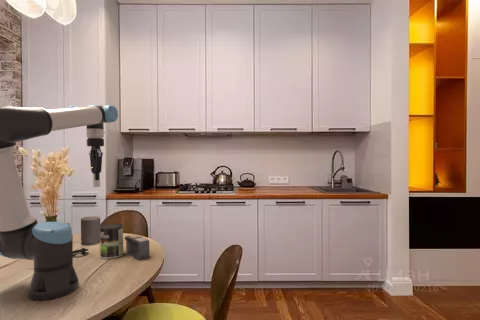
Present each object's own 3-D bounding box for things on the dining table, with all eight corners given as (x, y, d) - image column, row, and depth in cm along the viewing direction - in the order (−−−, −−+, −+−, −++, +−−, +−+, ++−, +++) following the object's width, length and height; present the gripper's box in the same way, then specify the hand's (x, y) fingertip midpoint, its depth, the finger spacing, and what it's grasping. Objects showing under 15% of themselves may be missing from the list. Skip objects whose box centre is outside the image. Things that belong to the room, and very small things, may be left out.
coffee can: (109, 260, 136) (108, 229, 135) (95, 256, 141) (94, 226, 141) (128, 254, 144) (127, 224, 144) (114, 250, 150) (114, 222, 150)
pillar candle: (76, 244, 161) (76, 216, 160) (90, 239, 170) (90, 213, 170) (91, 246, 158) (91, 218, 158) (104, 241, 167) (104, 214, 167)
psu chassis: (137, 260, 135) (137, 242, 135) (125, 252, 146) (124, 235, 146) (149, 257, 139) (149, 239, 138) (136, 250, 150) (136, 233, 150)
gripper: (108, 137, 142) (109, 187, 143) (99, 139, 152) (100, 185, 153) (91, 137, 137) (92, 188, 138) (83, 138, 147) (84, 186, 148)
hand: (96, 186), depth 145 cm, fingers closed
